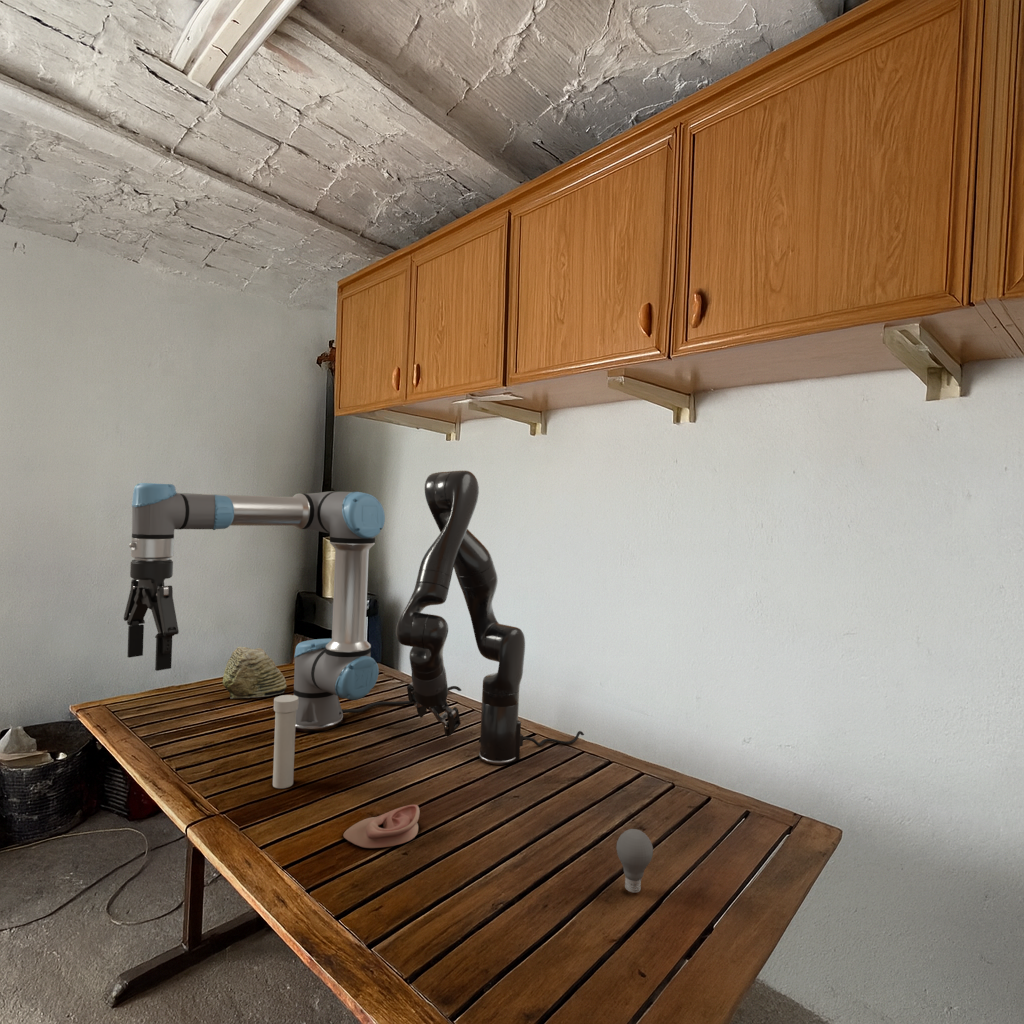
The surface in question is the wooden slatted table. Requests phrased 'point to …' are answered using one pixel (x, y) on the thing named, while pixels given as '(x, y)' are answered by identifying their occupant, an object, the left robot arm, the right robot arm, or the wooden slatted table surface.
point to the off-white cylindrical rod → (284, 749)
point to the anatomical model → (385, 828)
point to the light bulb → (634, 857)
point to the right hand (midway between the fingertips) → (435, 723)
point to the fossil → (252, 674)
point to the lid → (285, 703)
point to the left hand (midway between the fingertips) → (148, 662)
